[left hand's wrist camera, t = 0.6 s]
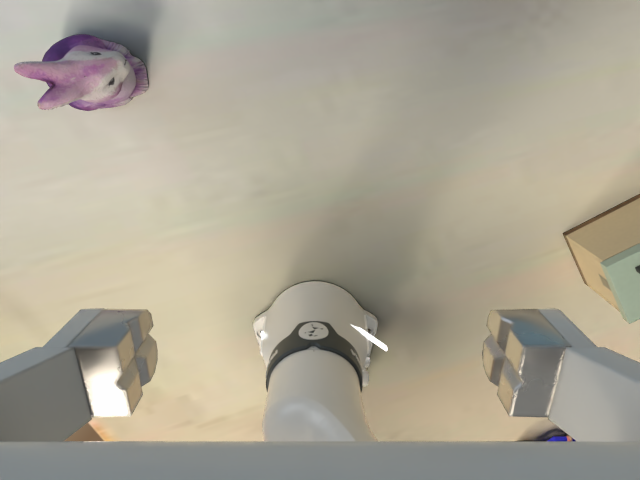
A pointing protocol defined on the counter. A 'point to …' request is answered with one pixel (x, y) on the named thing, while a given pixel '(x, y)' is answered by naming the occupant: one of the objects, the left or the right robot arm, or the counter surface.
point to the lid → (625, 281)
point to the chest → (604, 243)
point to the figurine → (87, 74)
